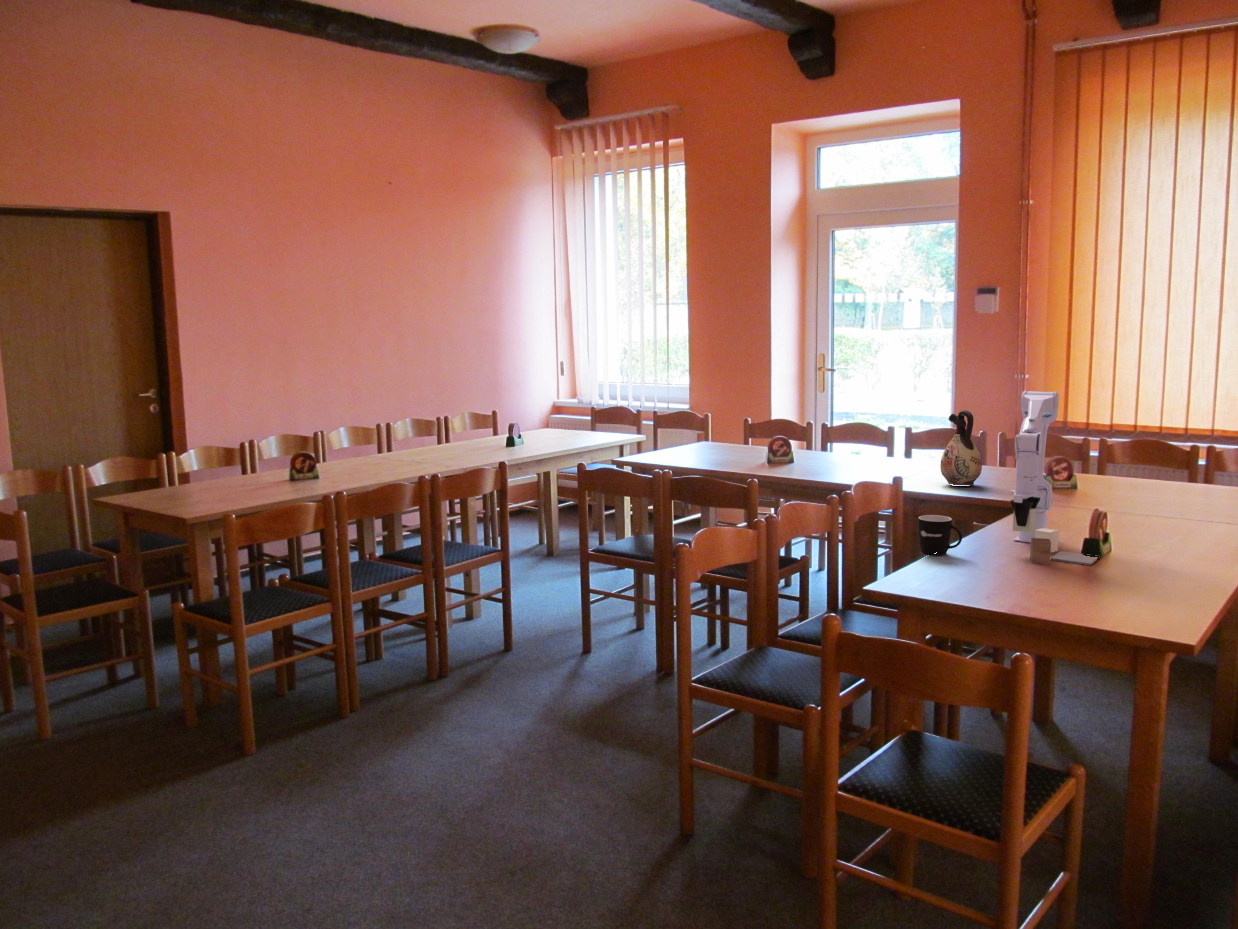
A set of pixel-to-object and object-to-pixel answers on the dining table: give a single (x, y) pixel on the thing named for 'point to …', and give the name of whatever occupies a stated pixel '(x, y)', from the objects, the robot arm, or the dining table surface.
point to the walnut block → (1040, 550)
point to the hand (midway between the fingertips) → (1024, 524)
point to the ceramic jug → (961, 453)
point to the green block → (1030, 522)
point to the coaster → (1074, 558)
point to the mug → (936, 534)
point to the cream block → (1049, 536)
